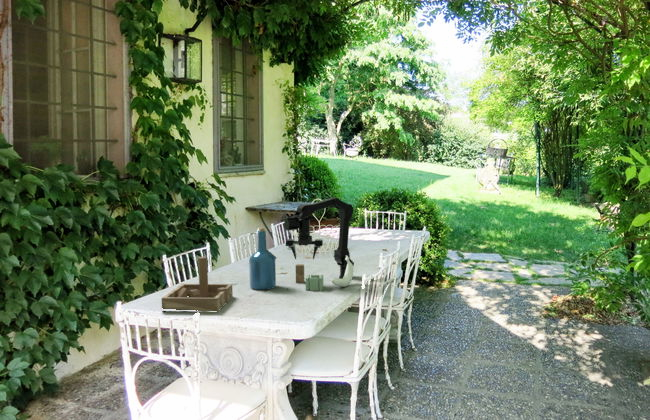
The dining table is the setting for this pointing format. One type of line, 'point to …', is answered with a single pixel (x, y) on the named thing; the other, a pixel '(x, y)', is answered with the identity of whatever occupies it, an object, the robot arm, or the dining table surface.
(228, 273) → the dining table surface
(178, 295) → the wooden blocks
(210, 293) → the crate frame
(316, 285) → the green open frame
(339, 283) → the banana
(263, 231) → the wine bottle
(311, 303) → the dining table surface
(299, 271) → the walnut peg
